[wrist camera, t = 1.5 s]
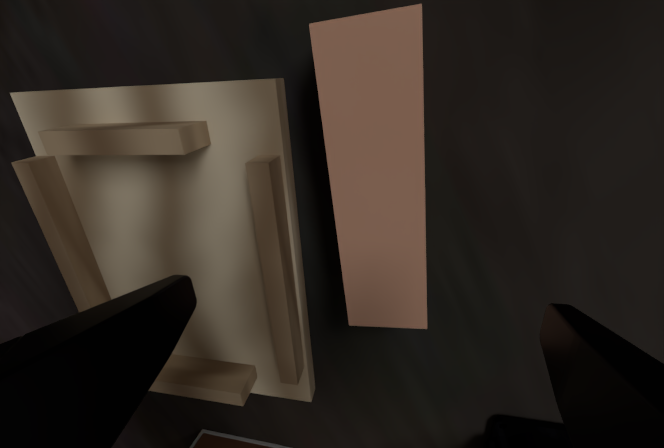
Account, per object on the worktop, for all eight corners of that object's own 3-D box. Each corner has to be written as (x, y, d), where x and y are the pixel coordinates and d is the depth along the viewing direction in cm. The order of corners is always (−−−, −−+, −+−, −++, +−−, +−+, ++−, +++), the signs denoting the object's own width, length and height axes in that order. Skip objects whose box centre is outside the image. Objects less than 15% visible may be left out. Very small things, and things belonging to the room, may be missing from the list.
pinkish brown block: (419, 18, 15) (421, 3, 11) (424, 283, 21) (427, 328, 17) (331, 32, 16) (309, 24, 12) (359, 282, 21) (349, 325, 18)
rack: (283, 78, 17) (254, 81, 14) (315, 388, 26) (302, 433, 23) (30, 91, 20) (-41, 96, 17) (137, 362, 29) (104, 398, 26)
